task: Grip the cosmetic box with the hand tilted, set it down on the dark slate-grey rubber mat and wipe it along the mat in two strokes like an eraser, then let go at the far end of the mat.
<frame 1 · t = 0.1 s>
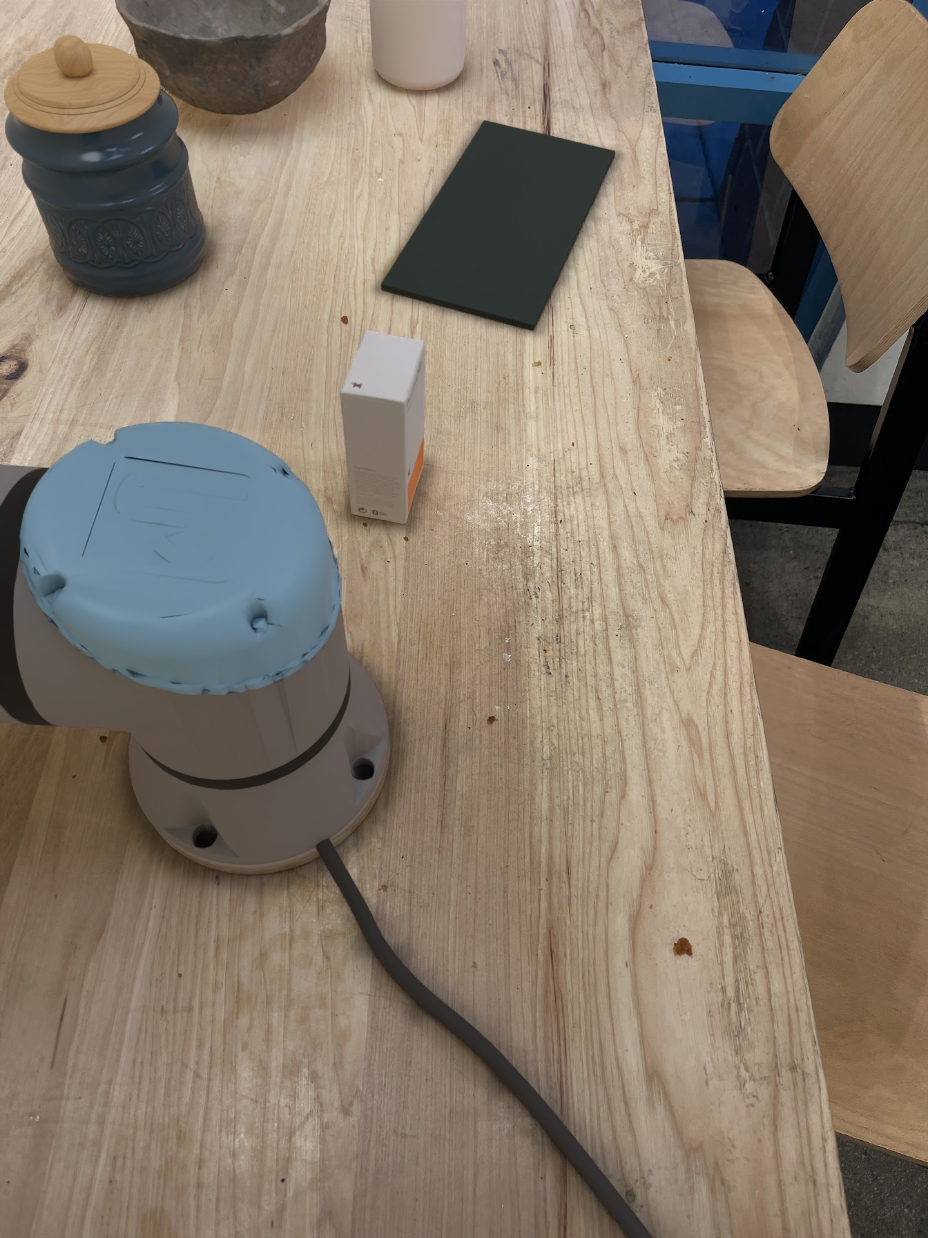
canister: (135, 254, 79), on the table
bowl: (242, 93, 93), on the table
cup: (418, 72, 96), on the table
cosmetic box: (389, 491, 65), on the table
mat: (506, 217, 83), on the table
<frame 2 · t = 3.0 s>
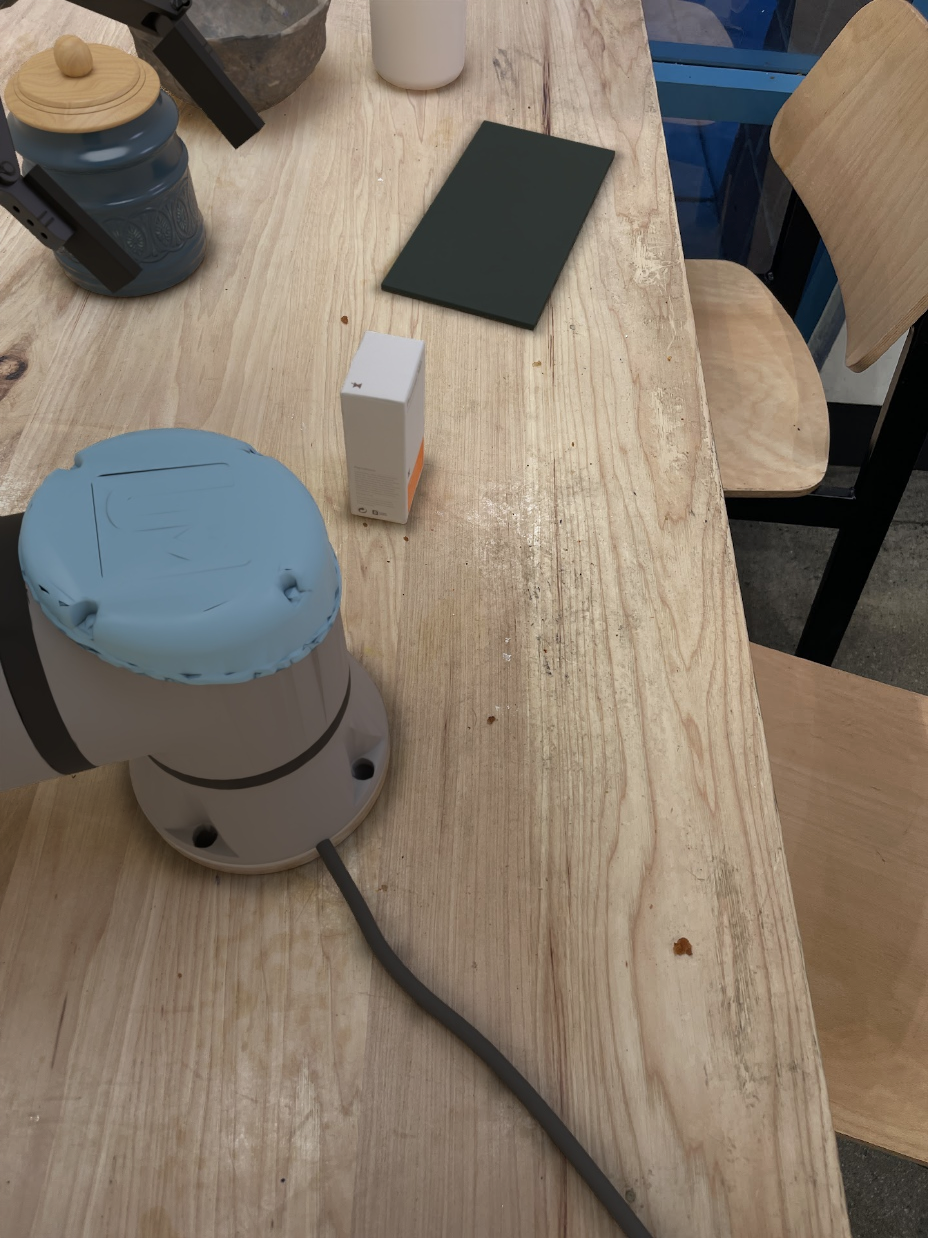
hand: (193, 205, 51), 20 cm above the table, tool tilted 40°, fingers open, 13 cm apart
nothing on the table moved.
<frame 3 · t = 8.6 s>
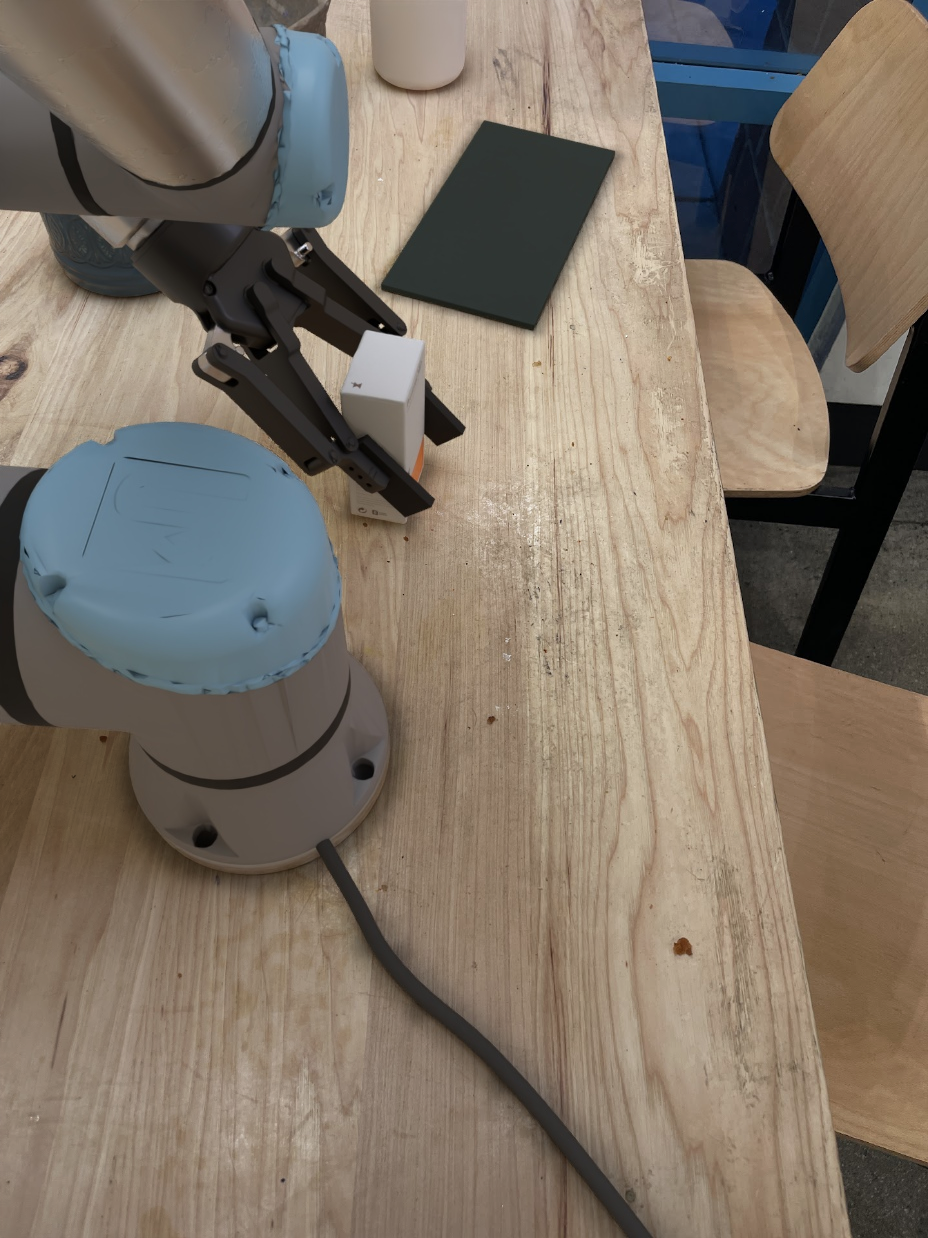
hand: (435, 471, 62), 3 cm above the table, tool tilted 45°, fingers closed on cosmetic box, 6 cm apart
cosmetic box: (389, 491, 65), on the table, touching gripper
everything else where it was.
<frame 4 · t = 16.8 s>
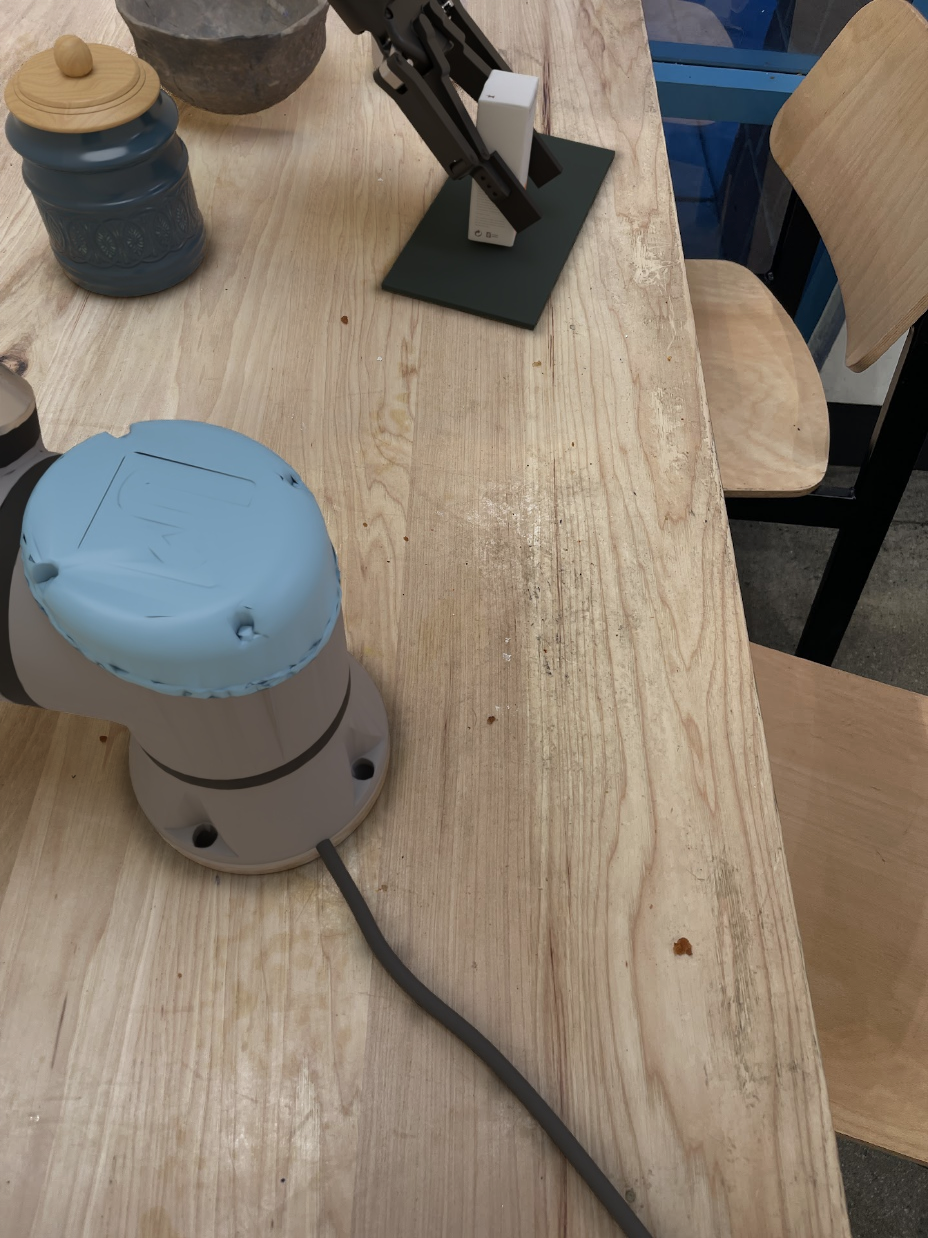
hand: (540, 200, 78), 4 cm above the table, tool tilted 45°, fingers closed on cosmetic box, 6 cm apart
cosmetic box: (496, 229, 81), point 1 cm above the table, touching gripper
everything else where it was.
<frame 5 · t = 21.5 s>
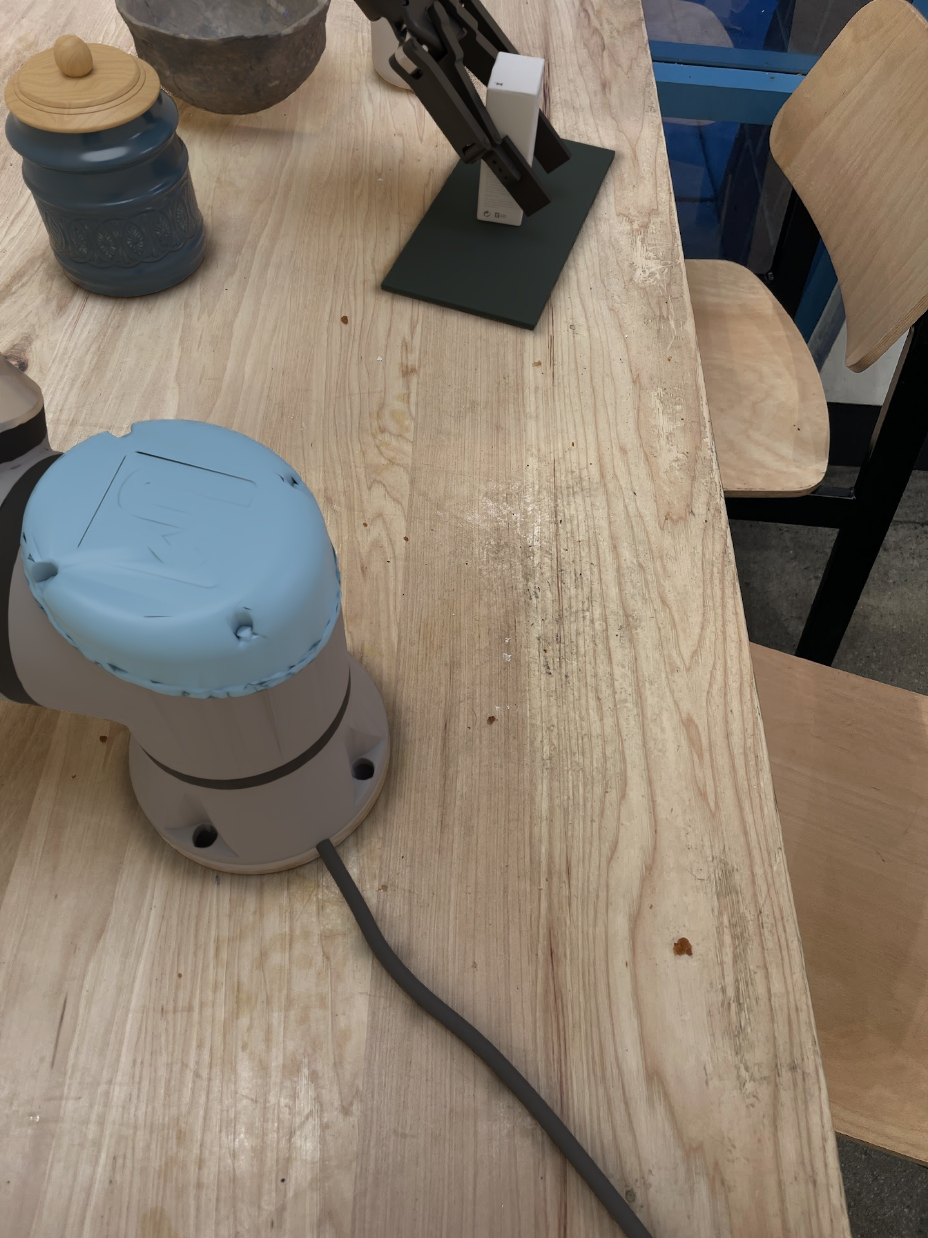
hand: (550, 184, 80), 4 cm above the table, tool tilted 45°, fingers closed on cosmetic box, 6 cm apart
cosmetic box: (503, 206, 83), resting on mat, touching gripper
everything else where it was.
when the fingers open (4 cm above the table, at t = 25.3 s): cosmetic box stays where it is, resting on mat.
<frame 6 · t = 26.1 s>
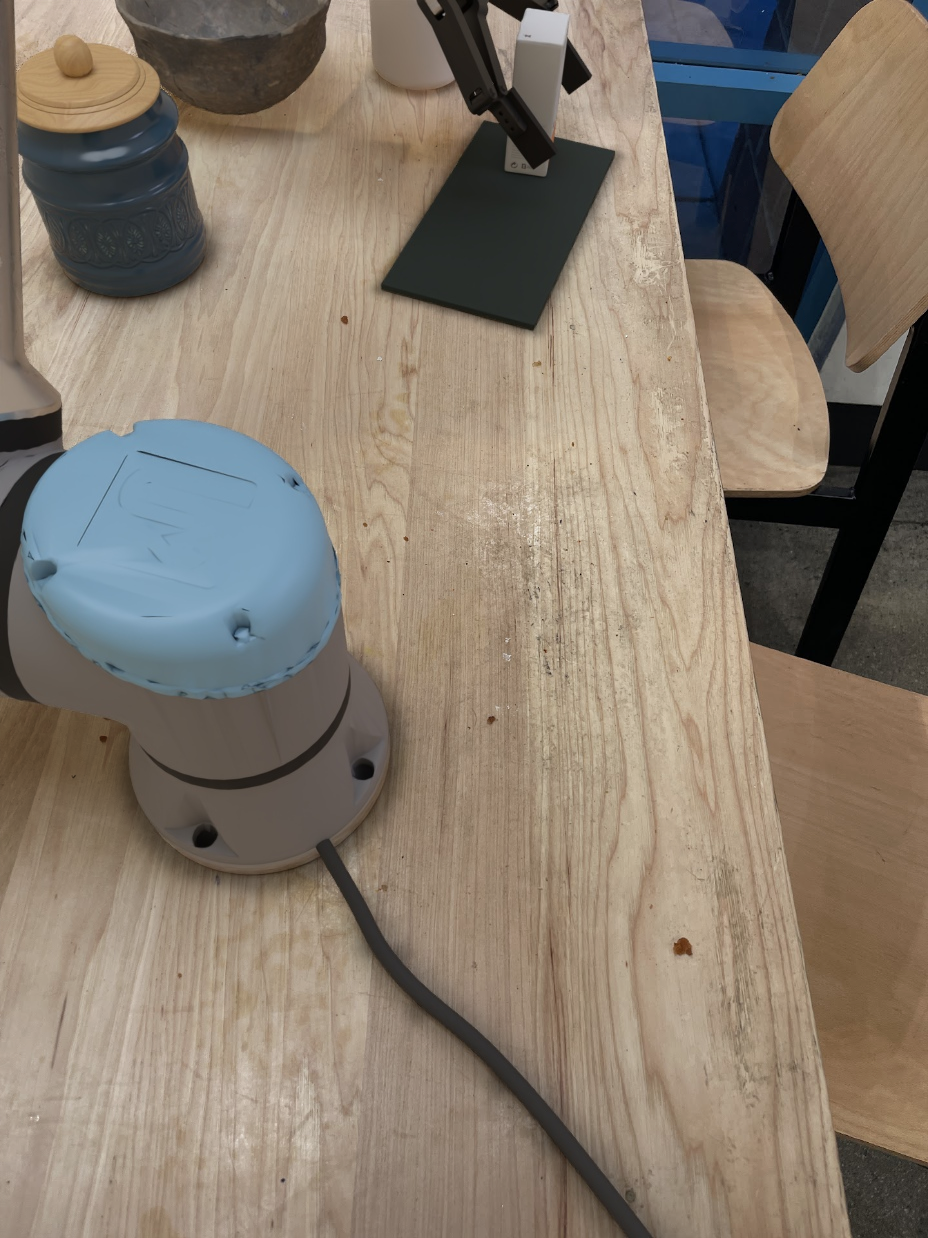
hand: (564, 121, 83), 5 cm above the table, tool tilted 45°, fingers open, 13 cm apart
cosmetic box: (529, 159, 88), resting on mat
everything else where it was.
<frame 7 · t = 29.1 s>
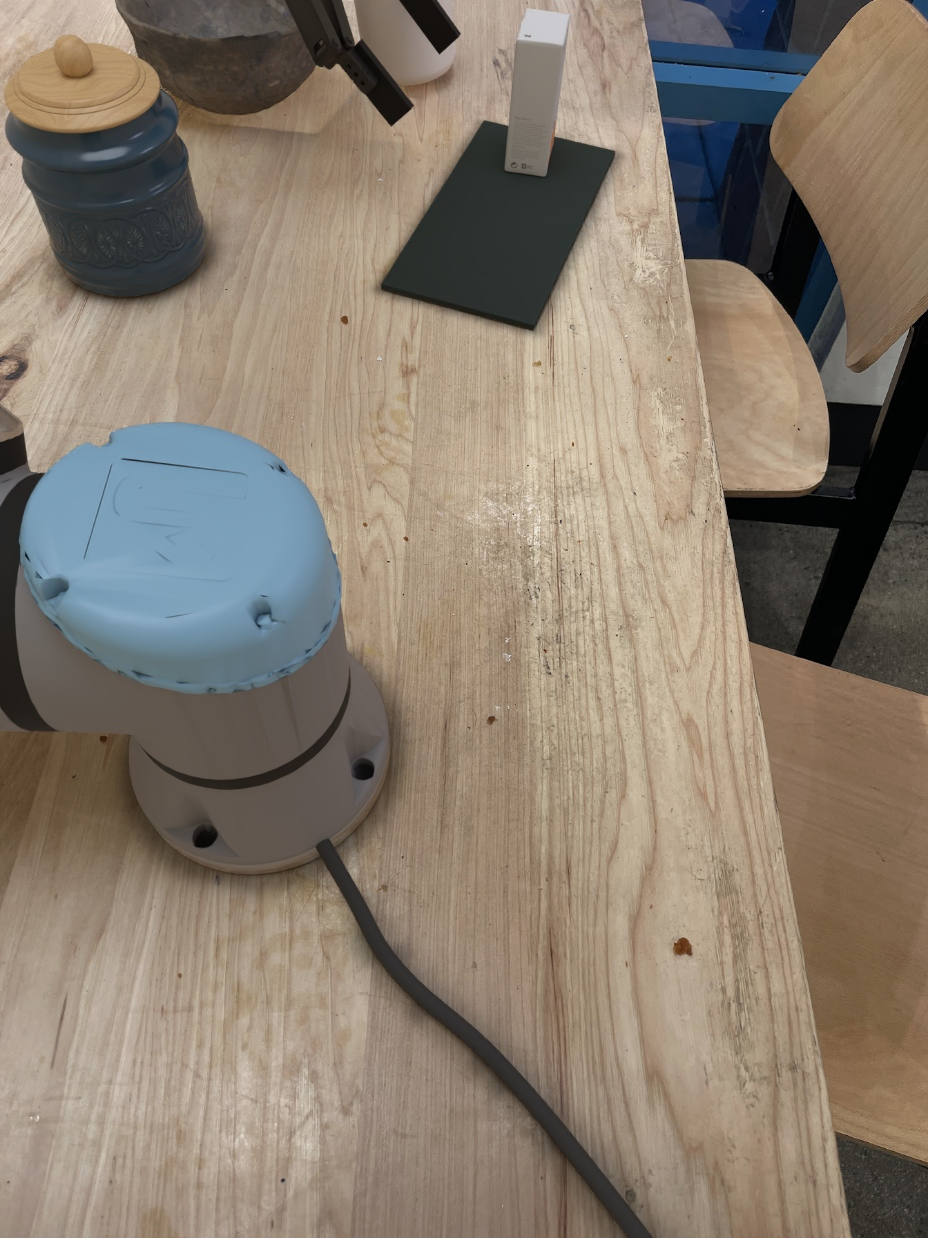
hand: (427, 78, 82), 7 cm above the table, tool tilted 45°, fingers open, 13 cm apart
cup: (411, 69, 96), on the table
everything else where it was.
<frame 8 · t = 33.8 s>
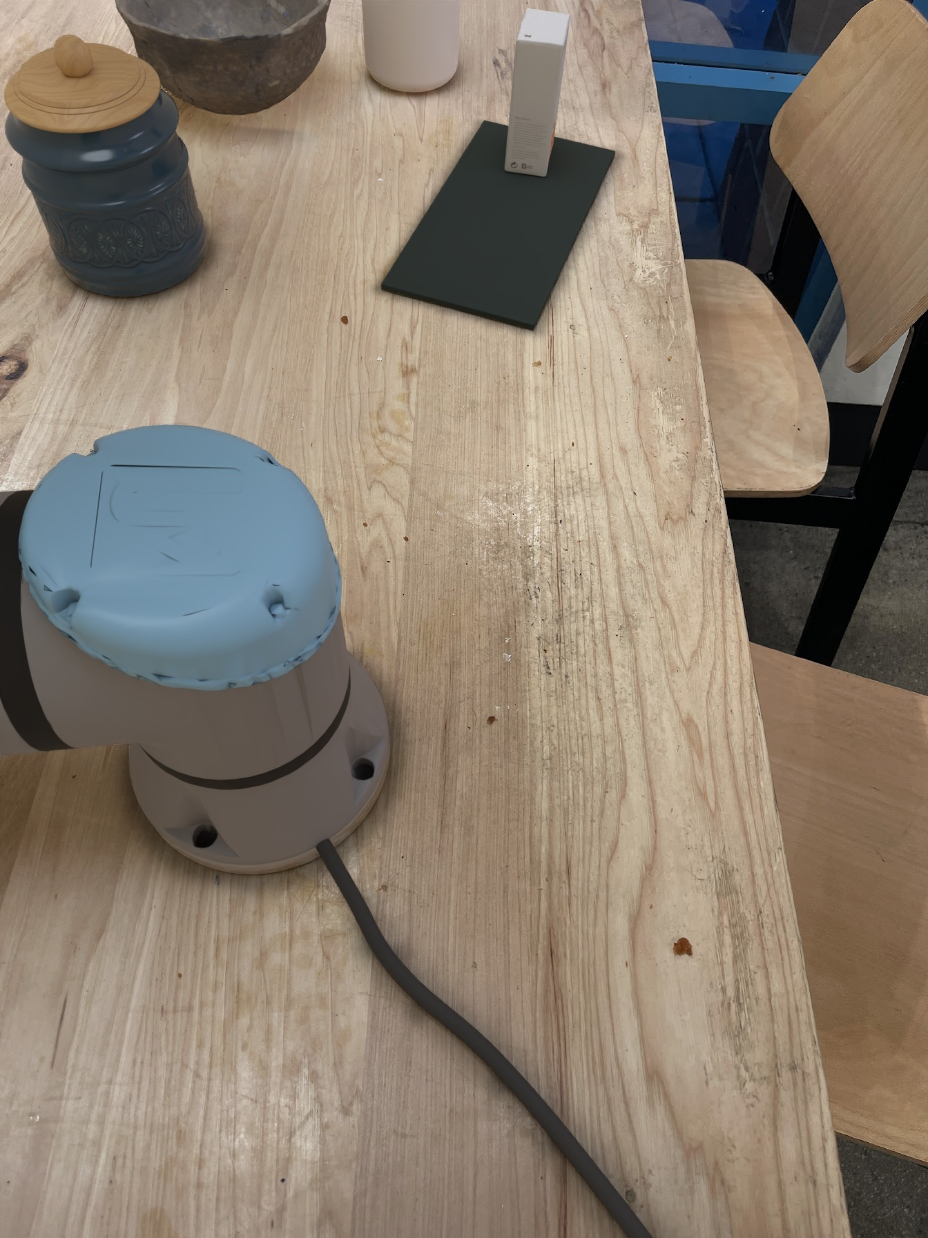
nothing on the table moved.
at the end: cosmetic box inside the target area on the mat (0.9 cm from its centre), point 0.4 cm above the mat's base; cosmetic box tilted 0°; the gripper is holding nothing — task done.
